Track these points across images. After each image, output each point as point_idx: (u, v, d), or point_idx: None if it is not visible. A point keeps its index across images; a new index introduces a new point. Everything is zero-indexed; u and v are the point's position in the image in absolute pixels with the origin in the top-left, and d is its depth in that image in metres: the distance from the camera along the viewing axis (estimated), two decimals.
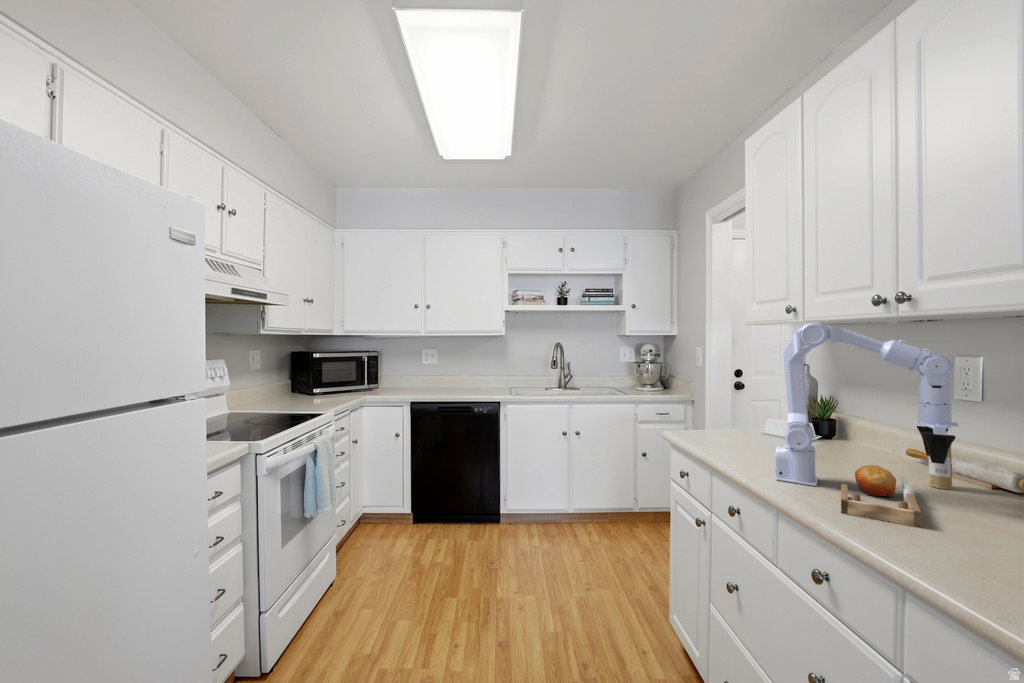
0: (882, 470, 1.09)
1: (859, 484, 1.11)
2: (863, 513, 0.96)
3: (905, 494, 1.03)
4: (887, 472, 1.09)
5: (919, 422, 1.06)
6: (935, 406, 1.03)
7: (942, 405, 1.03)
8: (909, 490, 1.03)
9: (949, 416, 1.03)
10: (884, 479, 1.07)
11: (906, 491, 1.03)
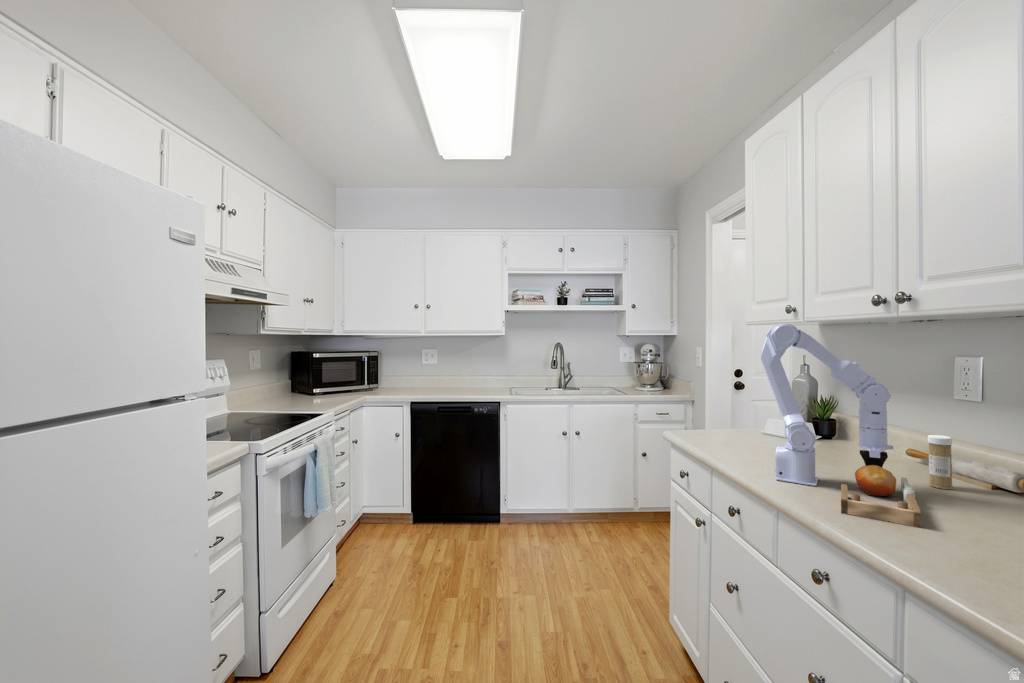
0: (882, 470, 1.09)
1: (859, 484, 1.11)
2: (863, 513, 0.96)
3: (905, 494, 1.03)
4: (887, 472, 1.09)
5: (859, 445, 1.15)
6: (872, 430, 1.12)
7: (878, 430, 1.12)
8: (909, 490, 1.03)
9: (885, 440, 1.12)
10: (884, 479, 1.07)
11: (906, 491, 1.03)
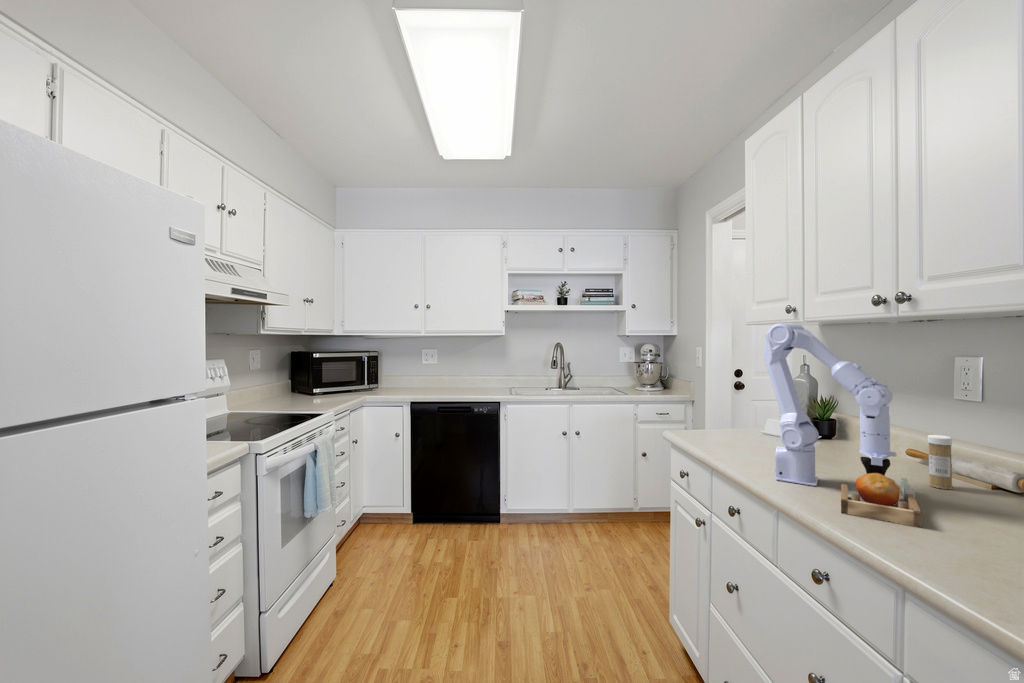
0: (885, 478, 1.03)
1: (860, 493, 1.04)
2: (863, 513, 0.96)
3: (905, 494, 1.03)
4: (890, 481, 1.02)
5: (860, 451, 1.09)
6: (874, 436, 1.06)
7: (880, 435, 1.05)
8: (909, 490, 1.03)
9: (887, 446, 1.05)
10: (887, 488, 1.01)
11: (906, 491, 1.03)
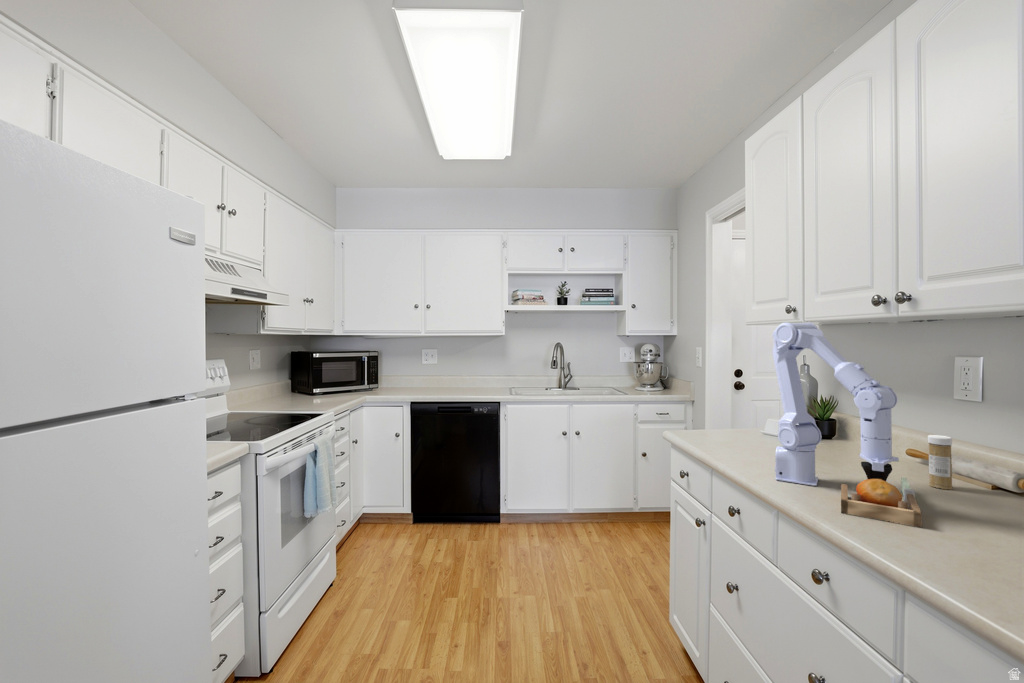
0: (886, 485, 0.98)
1: (861, 500, 1.00)
2: (863, 513, 0.96)
3: (905, 494, 1.03)
4: (892, 487, 0.98)
5: (861, 456, 1.05)
6: (875, 441, 1.02)
7: (882, 440, 1.01)
8: (909, 490, 1.03)
9: (889, 451, 1.01)
10: (889, 495, 0.96)
11: (906, 491, 1.03)
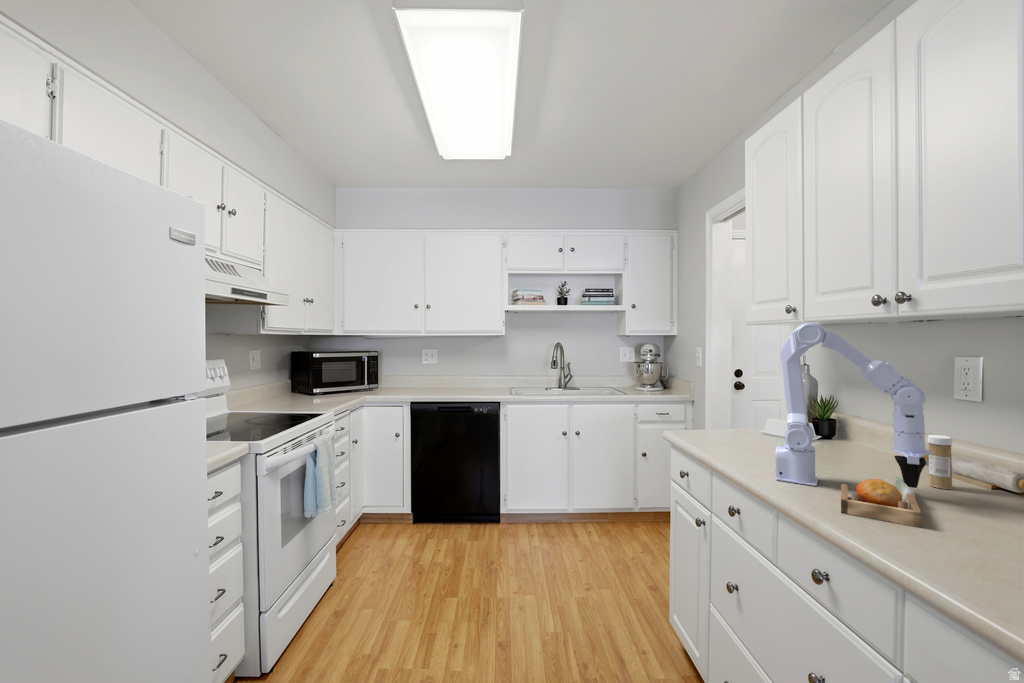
0: (886, 485, 0.98)
1: (861, 500, 1.00)
2: (863, 513, 0.96)
3: (905, 494, 1.03)
4: (892, 487, 0.98)
5: (894, 450, 1.09)
6: (909, 435, 1.06)
7: (915, 434, 1.05)
8: (909, 490, 1.03)
9: (922, 445, 1.05)
10: (889, 495, 0.96)
11: (906, 491, 1.02)
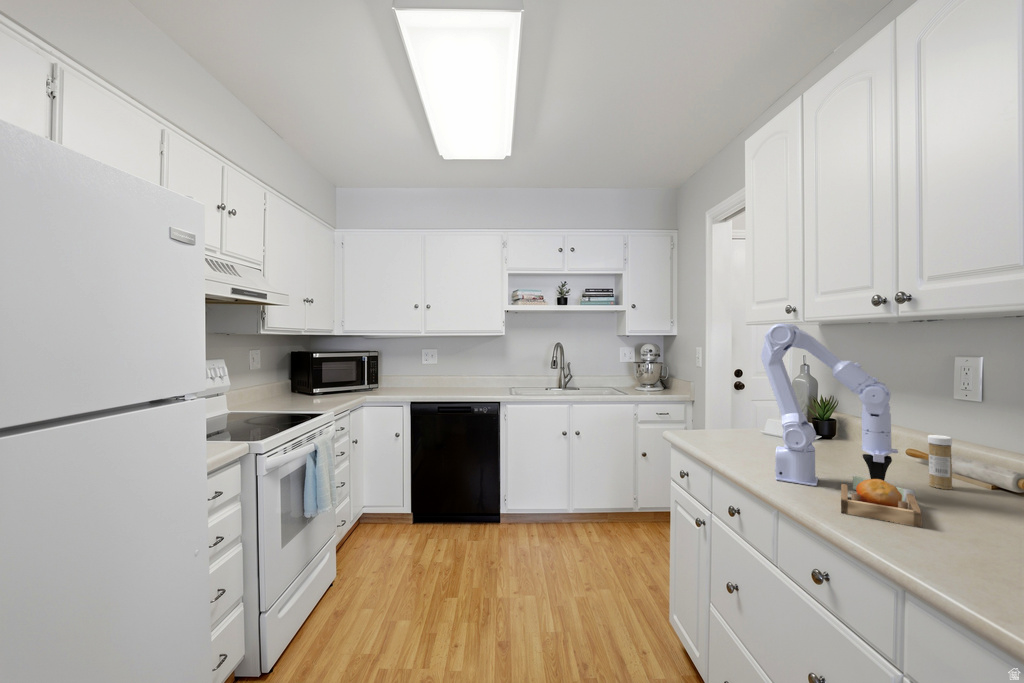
0: (886, 485, 0.98)
1: (861, 500, 1.00)
2: (863, 513, 0.96)
3: None
4: (892, 487, 0.98)
5: (862, 448, 1.11)
6: (876, 434, 1.08)
7: (882, 433, 1.07)
8: (910, 490, 1.03)
9: (889, 443, 1.07)
10: (889, 495, 0.96)
11: (911, 492, 1.02)
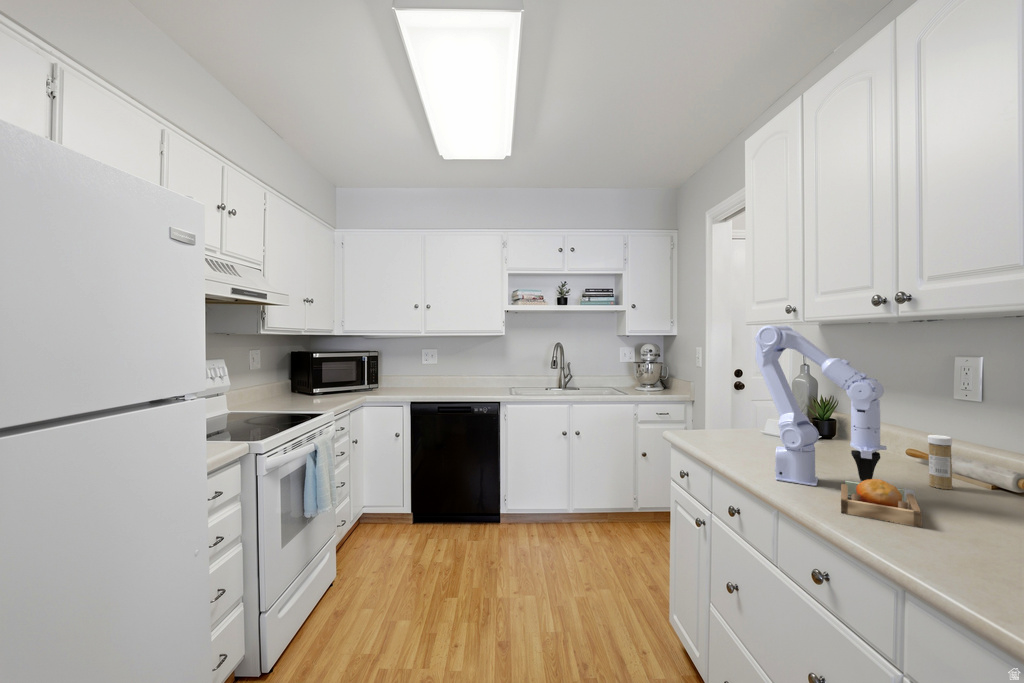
0: (886, 485, 0.98)
1: (861, 500, 1.00)
2: (863, 513, 0.96)
3: None
4: (892, 487, 0.98)
5: (851, 445, 1.10)
6: (864, 430, 1.07)
7: (871, 429, 1.06)
8: (910, 490, 1.03)
9: (877, 440, 1.06)
10: (889, 495, 0.96)
11: (913, 492, 1.02)
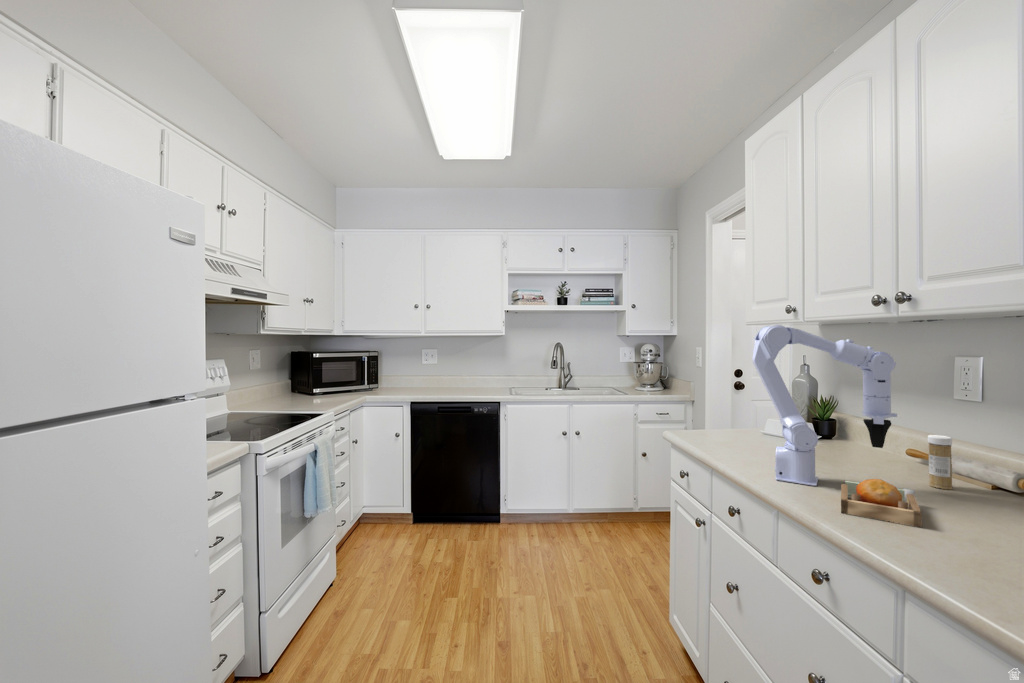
0: (886, 485, 0.98)
1: (861, 500, 1.00)
2: (863, 513, 0.96)
3: None
4: (892, 487, 0.98)
5: (863, 413, 1.17)
6: (876, 398, 1.14)
7: (882, 397, 1.13)
8: (910, 490, 1.03)
9: (888, 407, 1.14)
10: (889, 495, 0.96)
11: (913, 492, 1.02)
